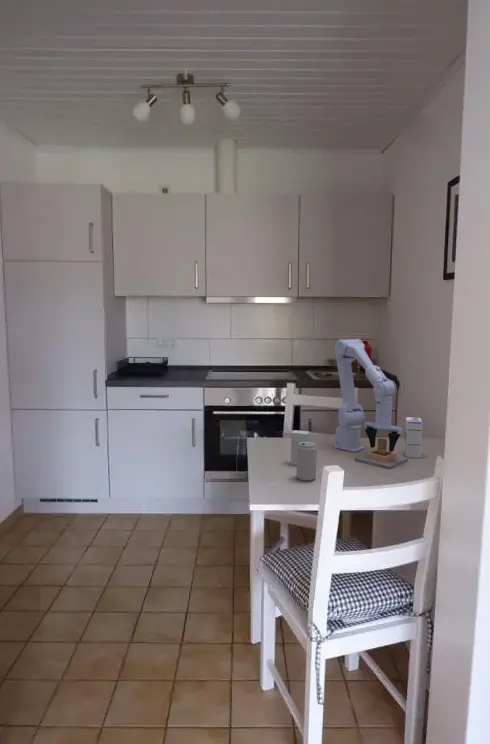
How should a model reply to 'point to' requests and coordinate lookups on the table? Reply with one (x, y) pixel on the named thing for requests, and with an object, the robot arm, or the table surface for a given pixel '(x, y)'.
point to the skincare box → (297, 443)
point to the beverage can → (306, 461)
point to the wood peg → (382, 447)
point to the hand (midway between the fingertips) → (381, 449)
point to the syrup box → (413, 437)
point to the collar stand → (382, 459)
